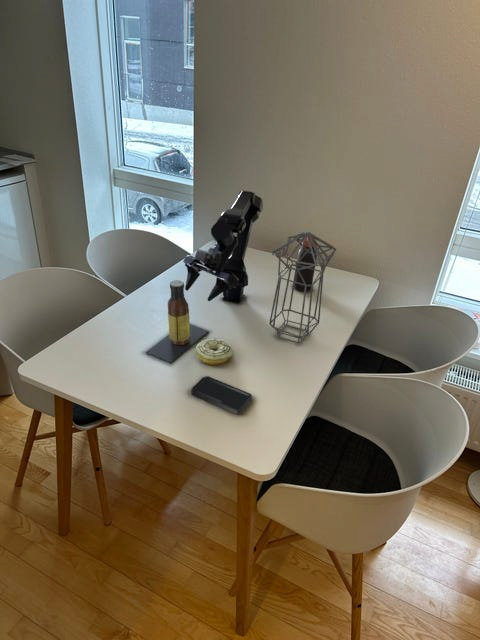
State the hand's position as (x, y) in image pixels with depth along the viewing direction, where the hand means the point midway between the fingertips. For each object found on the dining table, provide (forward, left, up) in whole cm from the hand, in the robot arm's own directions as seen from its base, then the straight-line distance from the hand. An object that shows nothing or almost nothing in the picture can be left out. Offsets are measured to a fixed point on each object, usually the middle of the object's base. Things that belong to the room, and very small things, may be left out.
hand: (197, 295), depth 144 cm
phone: (-20, +25, -13) cm, 34 cm away
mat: (+2, +8, -13) cm, 15 cm away
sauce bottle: (+2, +7, -13) cm, 15 cm away
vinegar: (-22, -45, -13) cm, 52 cm away
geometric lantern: (-28, -12, -13) cm, 33 cm away
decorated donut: (-11, +9, -13) cm, 20 cm away
